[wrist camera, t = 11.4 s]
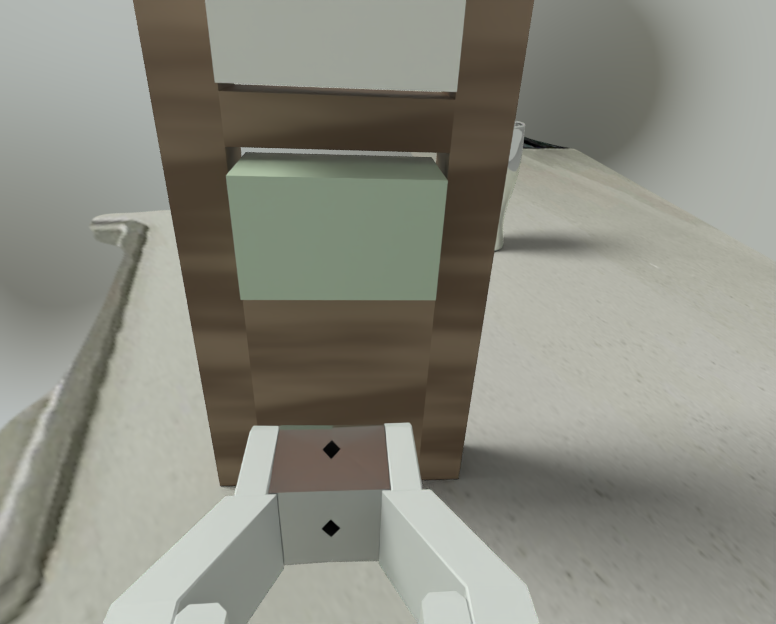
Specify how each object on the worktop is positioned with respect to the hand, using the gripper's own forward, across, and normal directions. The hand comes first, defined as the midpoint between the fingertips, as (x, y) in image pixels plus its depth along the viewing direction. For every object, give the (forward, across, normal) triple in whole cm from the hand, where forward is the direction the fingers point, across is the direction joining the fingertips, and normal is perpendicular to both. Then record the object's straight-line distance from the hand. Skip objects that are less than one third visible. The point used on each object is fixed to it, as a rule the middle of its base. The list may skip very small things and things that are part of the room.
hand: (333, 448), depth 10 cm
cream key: (+13, 0, +6) cm, 14 cm away
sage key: (+13, 0, -2) cm, 13 cm away
